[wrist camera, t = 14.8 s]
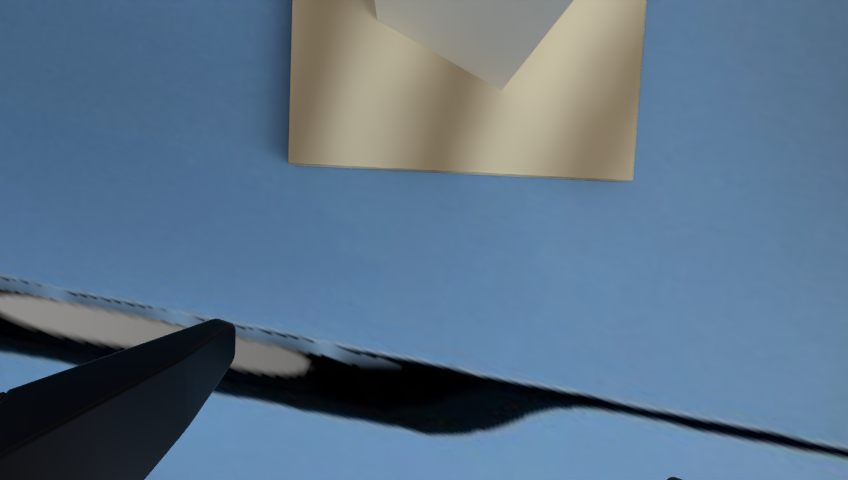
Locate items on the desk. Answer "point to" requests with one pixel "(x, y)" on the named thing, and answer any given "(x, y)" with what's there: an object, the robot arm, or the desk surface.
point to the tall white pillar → (475, 31)
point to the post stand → (466, 97)
